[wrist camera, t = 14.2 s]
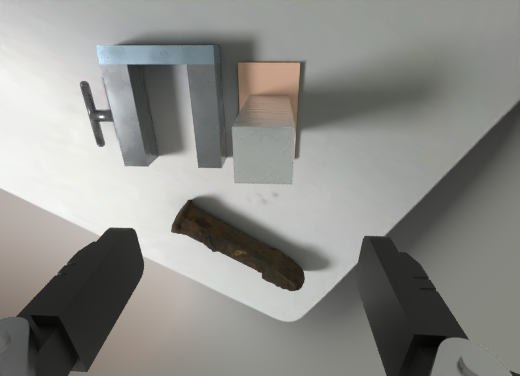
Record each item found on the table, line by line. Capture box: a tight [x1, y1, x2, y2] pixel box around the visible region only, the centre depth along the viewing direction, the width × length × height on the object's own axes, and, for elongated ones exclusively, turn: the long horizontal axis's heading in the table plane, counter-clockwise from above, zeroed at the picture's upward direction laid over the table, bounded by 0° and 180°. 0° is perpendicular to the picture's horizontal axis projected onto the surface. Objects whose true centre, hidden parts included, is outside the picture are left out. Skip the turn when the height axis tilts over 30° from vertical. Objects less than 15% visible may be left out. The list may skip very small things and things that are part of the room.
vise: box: [80, 45, 227, 168], centre depth 28 cm, size 12×14×3 cm
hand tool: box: [171, 200, 305, 291], centre depth 36 cm, size 19×4×5 cm, turn 55°
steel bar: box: [232, 95, 295, 184], centre depth 24 cm, size 4×4×12 cm
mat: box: [238, 62, 300, 158], centre depth 29 cm, size 10×6×1 cm, turn 0°
